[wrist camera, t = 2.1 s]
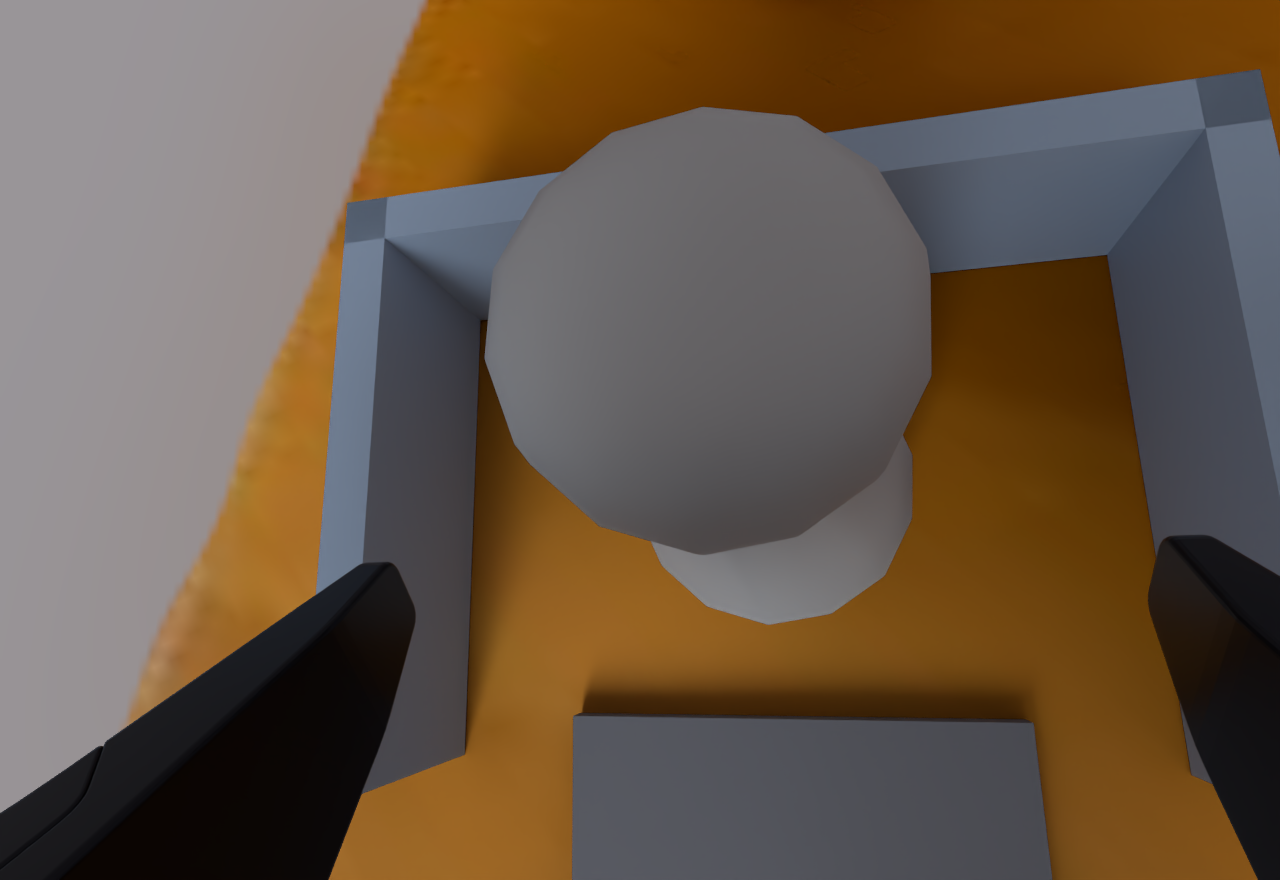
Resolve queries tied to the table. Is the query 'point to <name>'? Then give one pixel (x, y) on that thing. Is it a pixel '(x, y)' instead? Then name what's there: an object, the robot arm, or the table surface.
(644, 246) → the salt shaker
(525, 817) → the table surface
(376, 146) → the table surface
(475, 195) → the cradle
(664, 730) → the coaster
